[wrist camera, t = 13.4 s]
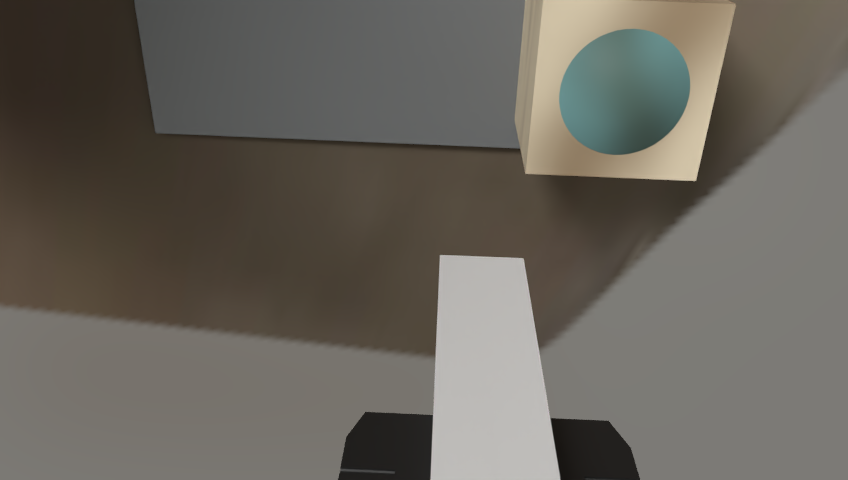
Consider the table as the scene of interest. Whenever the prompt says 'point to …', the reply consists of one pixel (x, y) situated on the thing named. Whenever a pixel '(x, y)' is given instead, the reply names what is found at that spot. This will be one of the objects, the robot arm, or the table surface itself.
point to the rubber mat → (335, 69)
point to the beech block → (619, 85)
